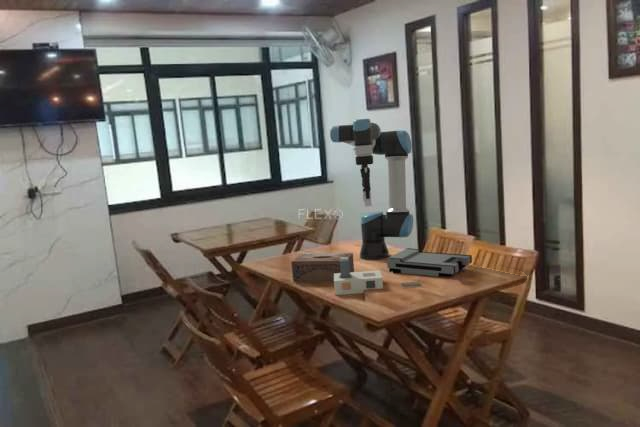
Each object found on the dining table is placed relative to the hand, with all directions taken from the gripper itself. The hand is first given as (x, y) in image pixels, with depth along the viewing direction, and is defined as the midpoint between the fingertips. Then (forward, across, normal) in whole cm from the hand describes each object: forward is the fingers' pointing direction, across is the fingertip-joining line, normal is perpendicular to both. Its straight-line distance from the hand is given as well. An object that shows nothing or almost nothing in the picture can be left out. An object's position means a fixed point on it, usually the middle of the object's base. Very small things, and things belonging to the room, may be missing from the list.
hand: (367, 204), depth 242 cm
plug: (+33, +12, -12) cm, 37 cm away
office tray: (+35, -7, +27) cm, 45 cm away
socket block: (+34, +12, -7) cm, 37 cm away
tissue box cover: (+35, -11, -22) cm, 43 cm away
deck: (+34, +16, +15) cm, 41 cm away
